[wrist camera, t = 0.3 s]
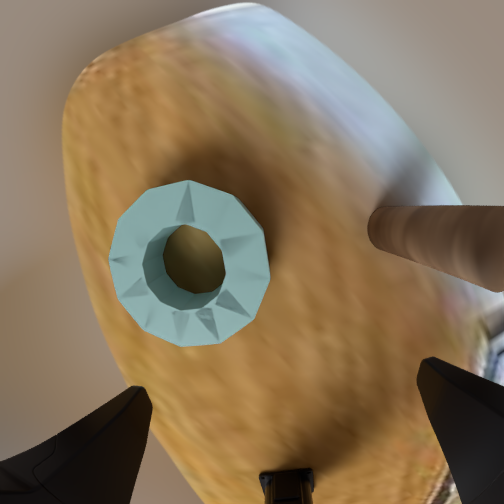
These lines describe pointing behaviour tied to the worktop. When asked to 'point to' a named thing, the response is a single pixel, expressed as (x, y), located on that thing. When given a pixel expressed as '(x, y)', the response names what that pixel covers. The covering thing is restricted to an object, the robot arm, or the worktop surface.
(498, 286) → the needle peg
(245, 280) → the bead
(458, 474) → the robot arm
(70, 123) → the worktop surface
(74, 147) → the worktop surface
